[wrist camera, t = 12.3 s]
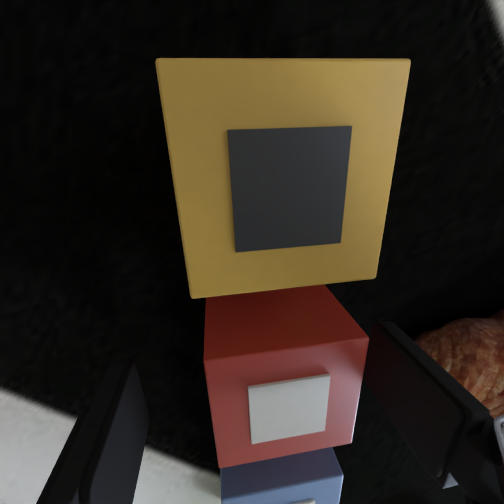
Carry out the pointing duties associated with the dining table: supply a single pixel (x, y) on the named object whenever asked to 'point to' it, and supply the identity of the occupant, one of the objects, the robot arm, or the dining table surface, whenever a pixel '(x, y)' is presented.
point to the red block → (281, 372)
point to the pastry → (471, 356)
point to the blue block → (284, 480)
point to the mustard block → (281, 167)
